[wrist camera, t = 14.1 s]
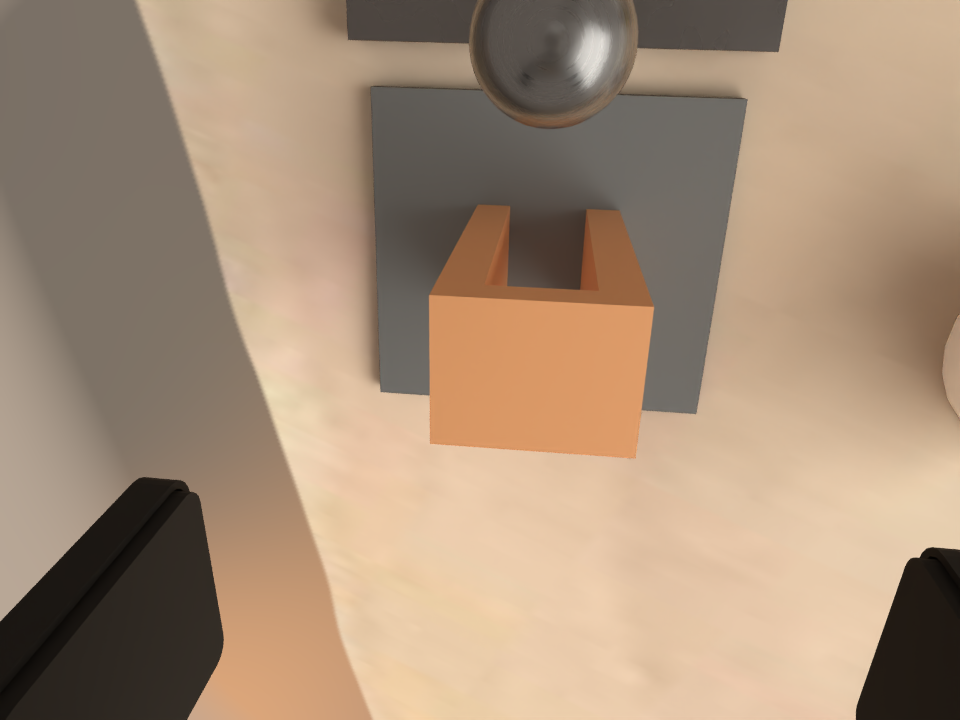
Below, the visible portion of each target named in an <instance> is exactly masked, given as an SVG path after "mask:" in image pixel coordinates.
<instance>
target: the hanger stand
mask: <svg viewBox="0 0 960 720" xmlns="http://www.w3.org/2000/svg"><path fill="white" fill-rule="evenodd" d="M787 1H788V0H346V3H347V26H348V40H365V41H401V42H437V43H469V51H470V57H471V63H472V66H473V70H474V73H475V76H476V78H477V80H478V83H479V85H480V86H481V88H482V90H483V92H484V93H485V95H486V96H487V97H488V99H489V100H490V101H491V102H492V103H493V104H494V105H495V106H496V107H497V108H498V109H499V110H500V111H501V112H502V113H504V114H505V115H506V116H508V117H509V118H511V119H513V120H515V121H517V122H519V123H521V124H524V125H526V126H530V127H534V128H540V129H561V128H567V127H571V126H574V125H577V124H580V123H582V122H584V121H587V120H589V119H590V118H592V117H594V116H595V115H597V114H598V113H600V112H601V111H602V110H603V109H604V108H606V107H607V106H608V105H609V104H610V103H611V102H612V101H613V100H614V99H615V97H616V96H617V95H618V93H619V92H620V91H621V89H622V88H623V86H624V84H625V83H626V81H627V79H628V77H629V75H630V72H631V70H632V68H633V65H634V61H635V58H636V53H637V48H652V49H688V50H724V51H760V52H779V46H780V41H781V35H782V29H783V24H784V18H785V12H786V6H787Z"/></svg>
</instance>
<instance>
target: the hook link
mask: <svg viewBox="0 0 960 720" xmlns="http://www.w3.org/2000/svg"><path fill="white" fill-rule="evenodd" d="M509 225H510V206H501V205H477V207H476V209H475V211H474V213H473V215H472V216H471V218H470V220H469V222H468V224H467V226H466V228H465V229H464V231H463V233H462V235H461V237H460V239H459V241H458V242H457V244H456V246H455V248H454V250H453V252H452V253H451V255H450V257H449V259H448V261H447V263H446V265H445V266H444V268H443V270H442V272H441V274H440V276H439V278H438V279H437V281H436V283H435V285H434V287H433V289H432V291H431V292H430V294H429V359H430V444H441V445H455V446H469V447H483V448H497V449H511V450H525V451H539V452H553V453H567V454H581V455H595V456H609V457H623V458H636V450H637V442H638V434H639V426H640V418H641V410H642V402H643V394H644V385H645V377H646V369H647V361H648V353H649V345H650V337H651V329H652V321H653V313H654V305H653V302H652V300H651V297H650V294H649V291H648V288H647V286H646V283H645V280H644V277H643V274H642V272H641V269H640V266H639V263H638V260H637V258H636V255H635V252H634V249H633V246H632V244H631V241H630V238H629V235H628V232H627V230H626V227H625V224H624V221H623V219H622V216H621V213H620V210H596V209H586V222H585V234H584V247H583V259H582V272H581V284H580V290H571V289H552V288H532V287H513V286H507V278H508V251H509Z"/></svg>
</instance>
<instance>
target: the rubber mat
mask: <svg viewBox="0 0 960 720" xmlns="http://www.w3.org/2000/svg"><path fill="white" fill-rule="evenodd" d="M747 100H748V99H744V98H718V97H688V96H658V95H628V94H618V95H617V96H616V97H615V99H614V100H613V101H612V102H611V103H610V104H609V105H608V106H607V107H606V108H604V109H603V110H602V111H601V112H600V113H598V114H597V115H595V116H594V117H592V118H590V119H589V120H587V121H584V122H582V123H580V124H577V125H574V126H571V127H567V128H561V129H540V128H534V127H530V126H526V125H524V124H521V123H519V122H517V121H515V120H513V119H511V118H509V117H508V116H506V115H505V114H504V113H502V112H501V111H500V110H499V109H498V108H497V107H496V106H495V105H494V104H493V103H492V102H491V101H490V100H489V99H488V97H487V96H486V95H485V93H484V92H483V90H477V89H447V88H417V87H387V86H373V87H371V109H372V140H373V171H374V203H375V234H376V265H377V296H378V327H379V358H380V389H381V392H389V393H403V394H417V395H430V359H429V294H430V292H431V291H432V289H433V287H434V285H435V283H436V281H437V279H438V278H439V276H440V274H441V272H442V270H443V268H444V266H445V265H446V263H447V261H448V259H449V257H450V255H451V253H452V252H453V250H454V248H455V246H456V244H457V242H458V241H459V239H460V237H461V235H462V233H463V231H464V229H465V228H466V226H467V224H468V222H469V220H470V218H471V216H472V215H473V213H474V211H475V209H476V207H477V205H501V206H510V225H509V251H508V278H507V286H513V287H532V288H552V289H571V290H580V284H581V272H582V259H583V247H584V234H585V222H586V209H596V210H620V213H621V216H622V219H623V221H624V224H625V227H626V230H627V232H628V235H629V238H630V241H631V244H632V246H633V249H634V252H635V255H636V258H637V260H638V263H639V266H640V269H641V272H642V274H643V277H644V280H645V283H646V286H647V288H648V291H649V294H650V297H651V300H652V302H653V305H654V313H653V321H652V329H651V337H650V345H649V353H648V361H647V369H646V377H645V385H644V394H643V402H642V410H646V411H661V412H675V413H689V414H696V412H697V406H698V400H699V394H700V388H701V382H702V376H703V370H704V363H705V357H706V351H707V345H708V339H709V333H710V327H711V321H712V314H713V308H714V302H715V296H716V290H717V284H718V278H719V272H720V266H721V259H722V253H723V247H724V241H725V235H726V229H727V223H728V217H729V210H730V204H731V198H732V192H733V186H734V180H735V174H736V168H737V161H738V155H739V149H740V143H741V137H742V131H743V125H744V119H745V113H746V106H747Z"/></svg>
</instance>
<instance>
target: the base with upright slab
mask: <svg viewBox="0 0 960 720" xmlns="http://www.w3.org/2000/svg"><path fill="white" fill-rule="evenodd" d="M942 376H943V381H944V386H945V390H946V395H947V399H948V401H949V402H950V404H951V406H952V407H953V409H954V411H955V412H956V414H957V415H958V417H959V419H960V314H959V315H958V316H957V318H956V321H955V323H954V325H953V328H952V330H951V333H950V335H949V337H948V340H947V342H946V345H945V351H944V360H943V369H942Z"/></svg>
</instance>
